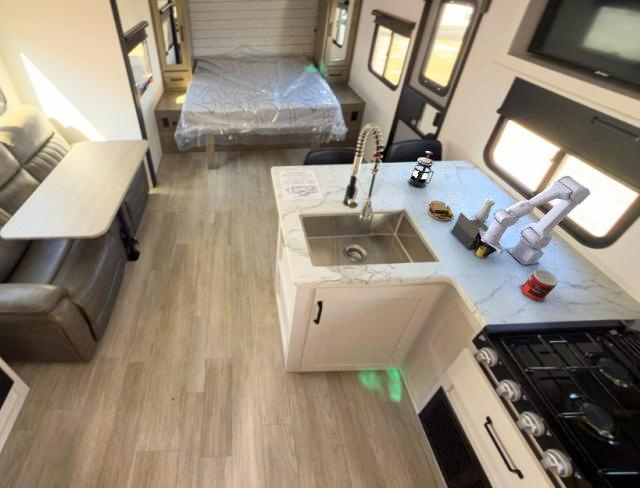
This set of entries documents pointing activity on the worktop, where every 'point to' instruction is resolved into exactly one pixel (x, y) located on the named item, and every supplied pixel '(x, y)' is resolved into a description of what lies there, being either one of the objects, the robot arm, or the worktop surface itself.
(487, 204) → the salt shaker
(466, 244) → the grey hinged lid box
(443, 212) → the toy sandwich meal
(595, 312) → the worktop surface
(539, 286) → the canned food
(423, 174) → the french press
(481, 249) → the yellow small lump
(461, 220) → the filter lid
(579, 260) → the worktop surface
